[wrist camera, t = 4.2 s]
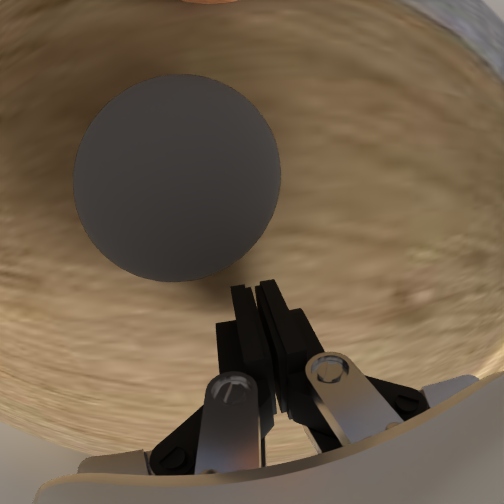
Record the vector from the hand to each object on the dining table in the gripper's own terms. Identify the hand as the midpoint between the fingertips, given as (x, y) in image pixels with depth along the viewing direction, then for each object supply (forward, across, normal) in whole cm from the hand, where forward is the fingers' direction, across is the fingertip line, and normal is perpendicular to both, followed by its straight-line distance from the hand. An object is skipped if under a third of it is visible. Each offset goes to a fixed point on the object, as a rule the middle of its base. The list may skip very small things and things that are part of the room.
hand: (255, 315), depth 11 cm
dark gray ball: (-1, +2, -6) cm, 6 cm away
